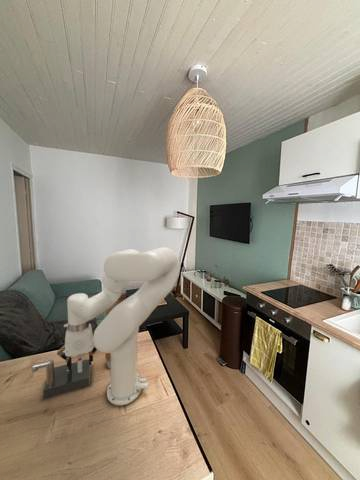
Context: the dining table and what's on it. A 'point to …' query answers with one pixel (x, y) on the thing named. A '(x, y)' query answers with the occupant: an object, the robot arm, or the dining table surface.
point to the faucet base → (68, 379)
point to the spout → (49, 370)
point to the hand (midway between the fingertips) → (80, 365)
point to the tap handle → (80, 363)
